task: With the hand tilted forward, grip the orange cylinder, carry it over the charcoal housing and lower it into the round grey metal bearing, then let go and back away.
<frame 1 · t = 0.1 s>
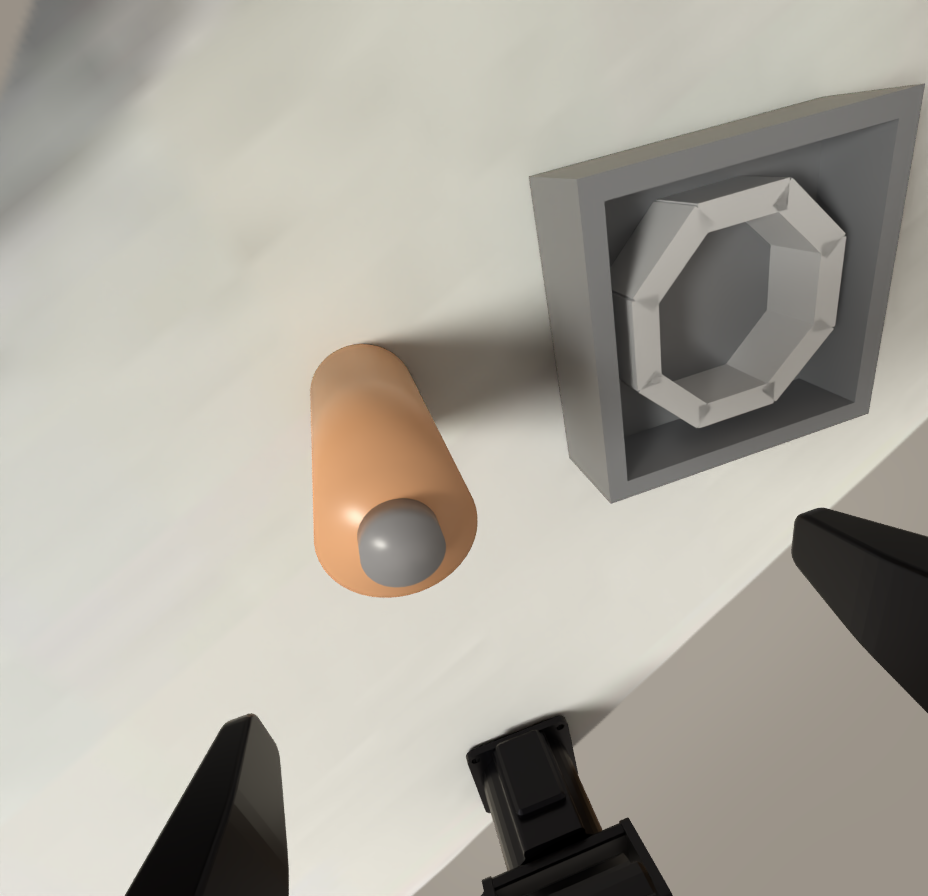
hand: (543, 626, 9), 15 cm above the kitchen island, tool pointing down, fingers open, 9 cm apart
orange cylinder: (363, 393, 22), on the kitchen island
housing: (683, 295, 23), on the kitchen island
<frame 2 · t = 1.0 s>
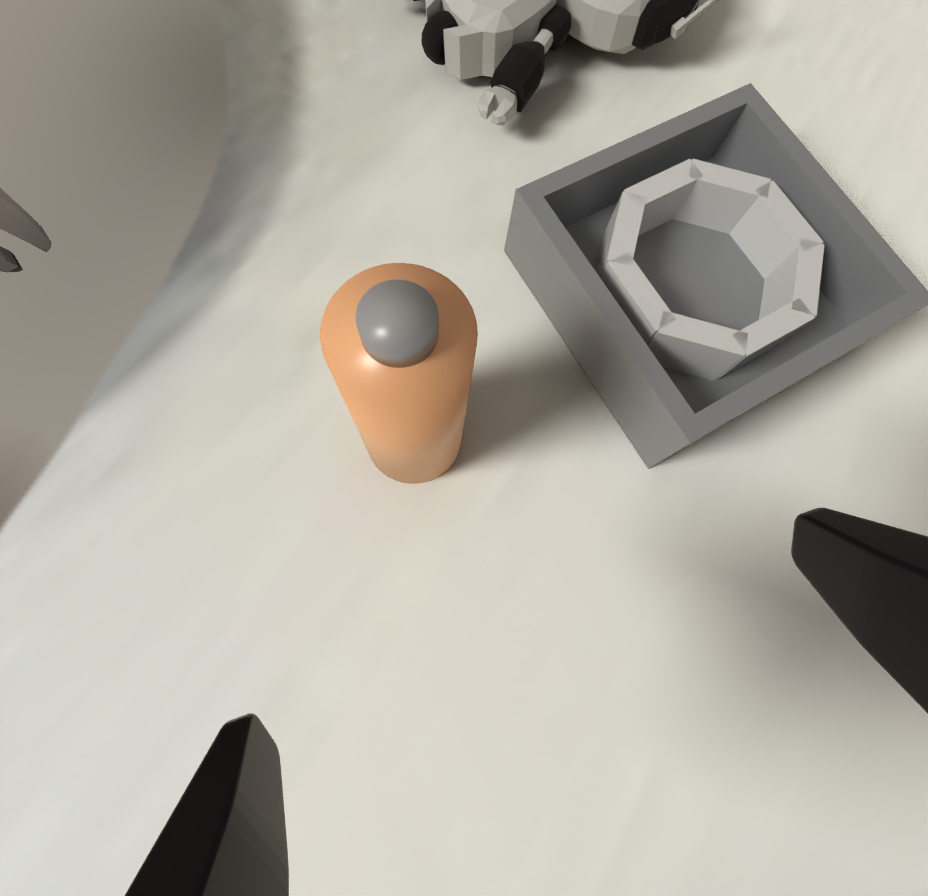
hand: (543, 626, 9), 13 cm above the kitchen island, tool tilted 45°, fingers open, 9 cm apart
robot toy: (542, 33, 30), on the kitchen island
orange cylinder: (414, 437, 23), on the kitchen island
housing: (680, 297, 26), on the kitchen island
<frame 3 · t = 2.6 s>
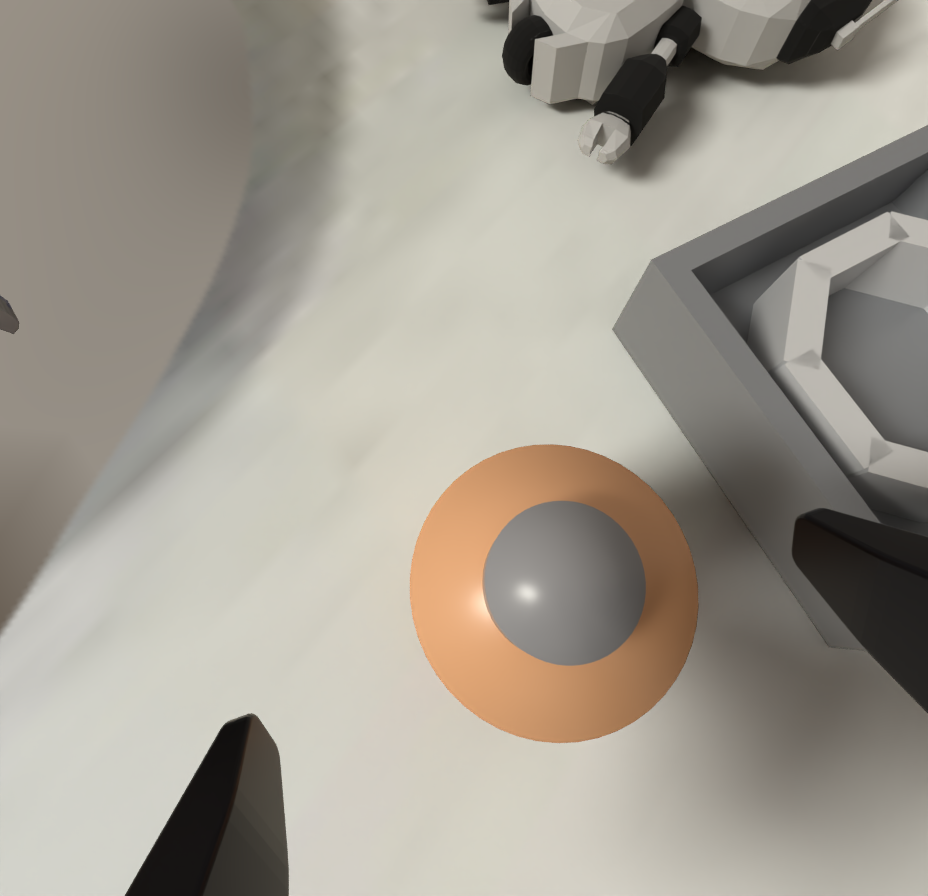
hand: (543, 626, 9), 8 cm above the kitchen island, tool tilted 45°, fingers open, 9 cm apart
robot toy: (647, 44, 24), on the kitchen island
orange cylinder: (498, 596, 17), on the kitchen island
housing: (854, 394, 19), on the kitchen island
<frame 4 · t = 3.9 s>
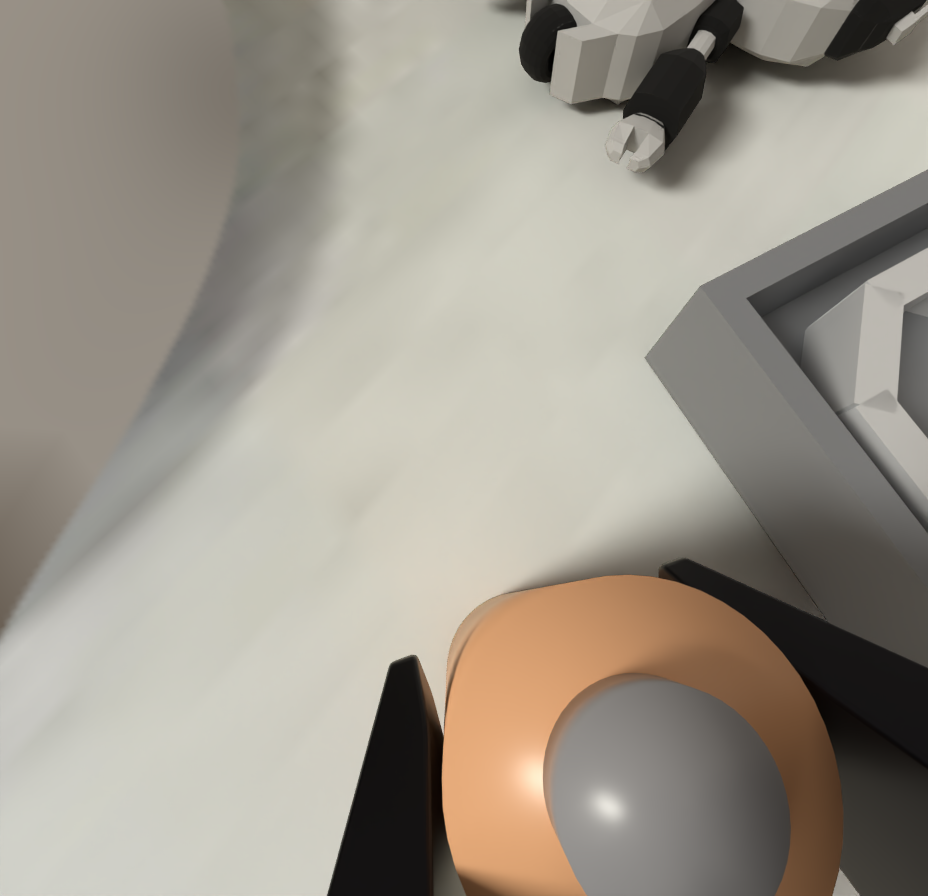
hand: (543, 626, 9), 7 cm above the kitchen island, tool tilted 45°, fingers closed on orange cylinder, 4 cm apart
robot toy: (675, 38, 22), on the kitchen island
orange cylinder: (522, 670, 15), on the kitchen island, touching gripper
housing: (917, 430, 17), on the kitchen island
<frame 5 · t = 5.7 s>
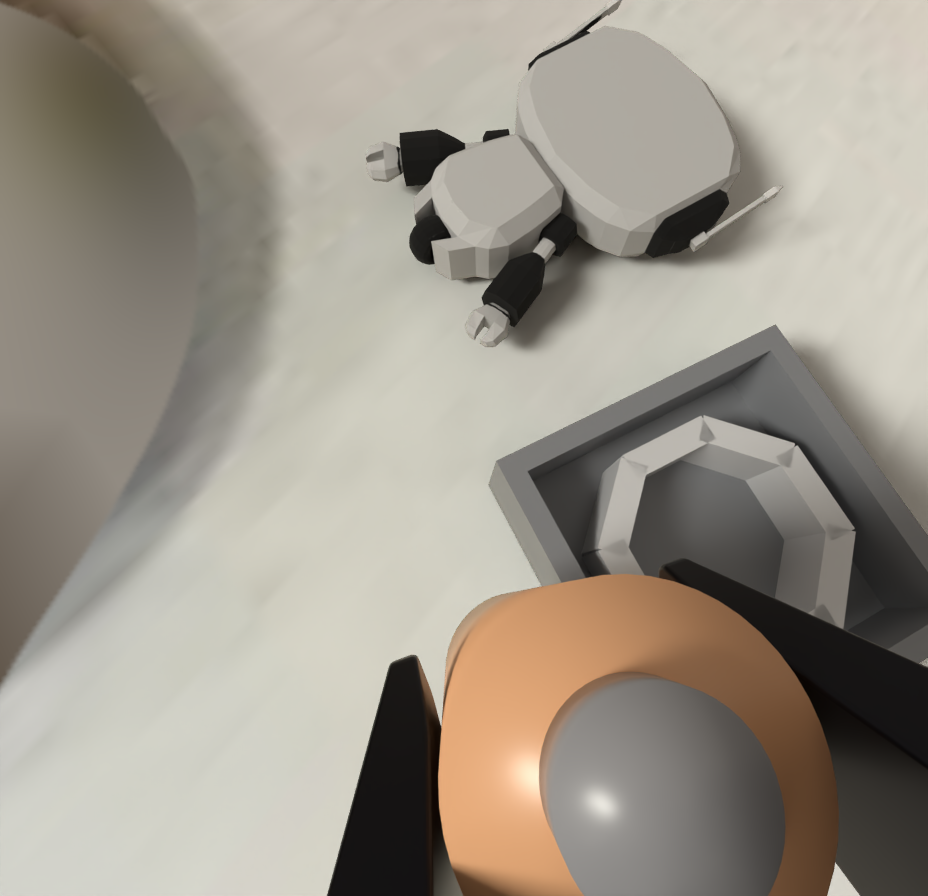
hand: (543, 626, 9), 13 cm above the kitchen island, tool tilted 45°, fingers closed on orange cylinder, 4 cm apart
robot toy: (548, 215, 27), on the kitchen island
orange cylinder: (520, 669, 15), point 7 cm above the kitchen island, touching gripper
housing: (686, 549, 22), on the kitchen island
when the fingers open (9 cm above the kitchen island, at t = 7.8 s): orange cylinder stays where it is, resting on housing.
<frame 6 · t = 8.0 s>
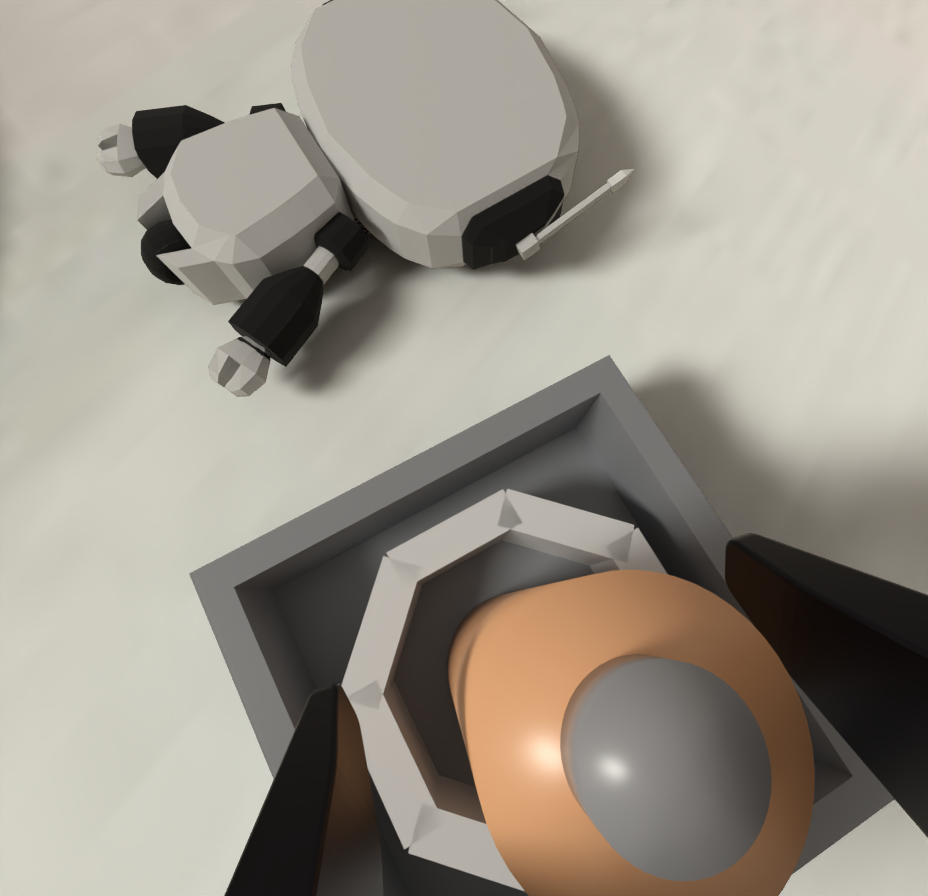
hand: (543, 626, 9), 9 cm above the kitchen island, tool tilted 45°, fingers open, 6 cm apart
robot toy: (363, 216, 21), on the kitchen island
orange cylinder: (518, 666, 15), point 1 cm above the kitchen island, touching housing
housing: (514, 661, 16), on the kitchen island
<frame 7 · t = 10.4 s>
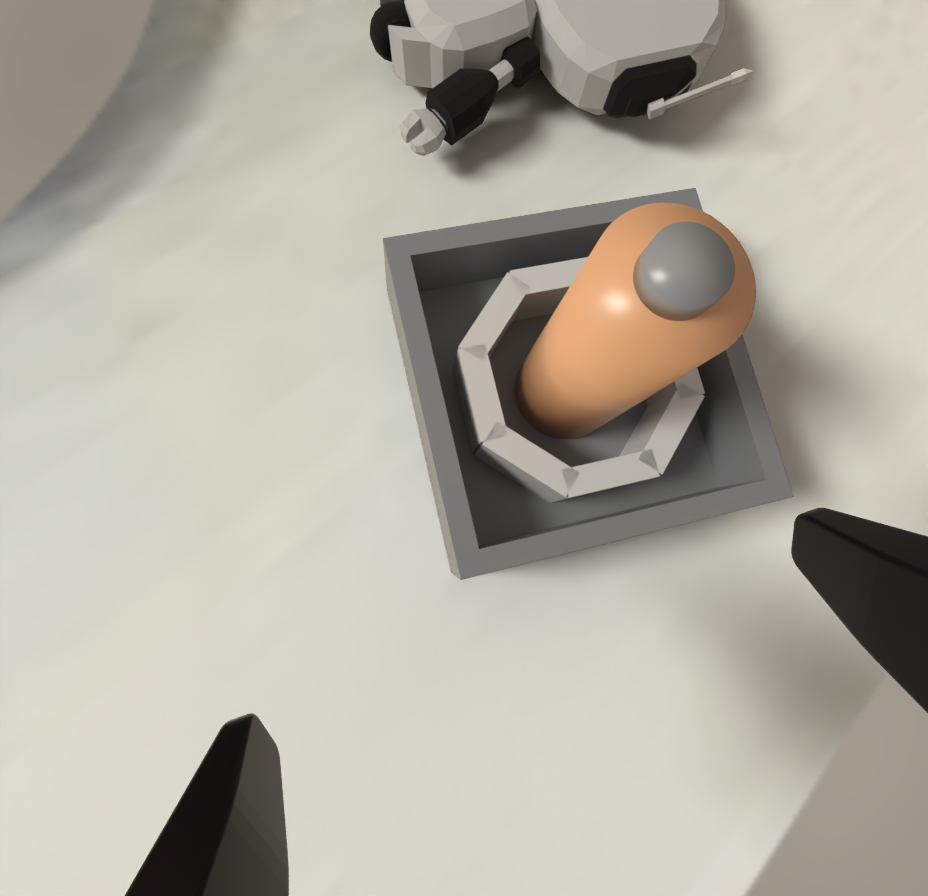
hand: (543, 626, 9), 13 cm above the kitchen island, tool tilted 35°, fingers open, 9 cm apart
robot toy: (528, 57, 26), on the kitchen island
orange cylinder: (563, 390, 22), point 1 cm above the kitchen island, touching housing
housing: (557, 396, 23), on the kitchen island
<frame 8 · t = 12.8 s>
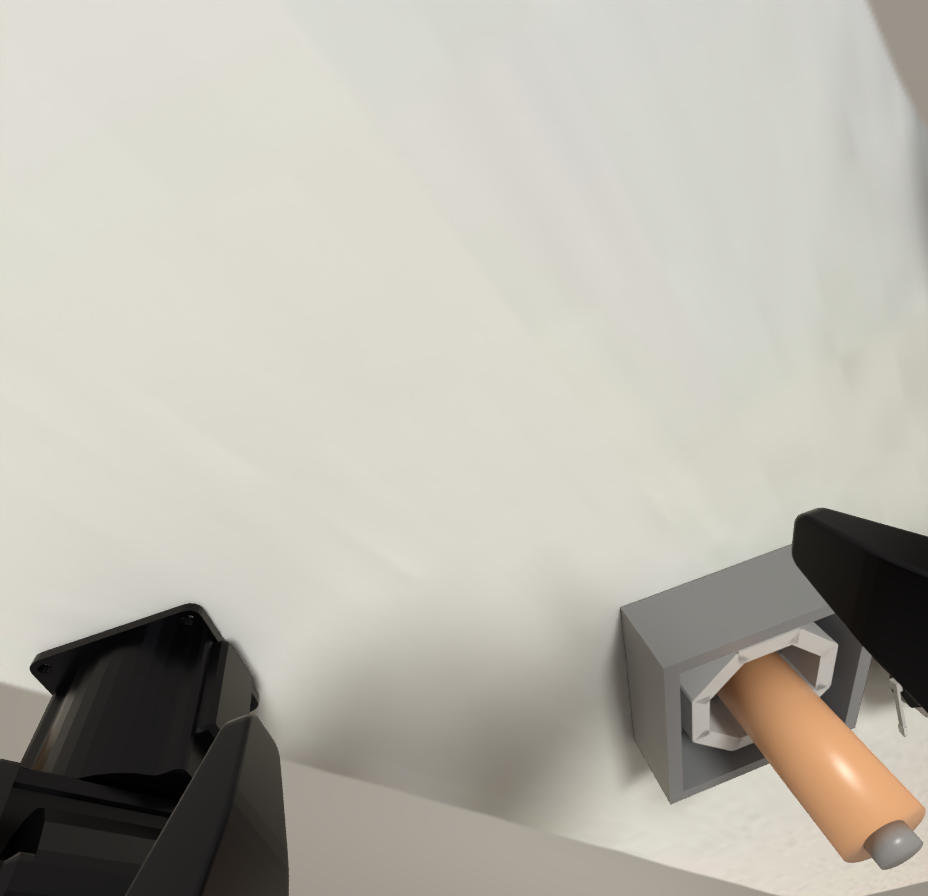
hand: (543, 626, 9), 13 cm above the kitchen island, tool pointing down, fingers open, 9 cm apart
orange cylinder: (733, 657, 31), point 1 cm above the kitchen island, touching housing
housing: (721, 644, 32), on the kitchen island
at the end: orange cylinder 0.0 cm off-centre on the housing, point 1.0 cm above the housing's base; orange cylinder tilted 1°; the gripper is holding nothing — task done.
